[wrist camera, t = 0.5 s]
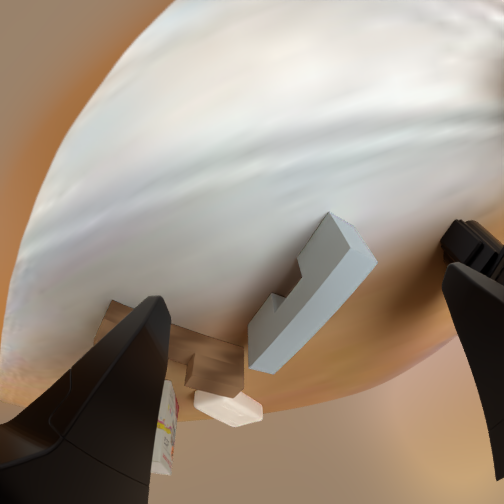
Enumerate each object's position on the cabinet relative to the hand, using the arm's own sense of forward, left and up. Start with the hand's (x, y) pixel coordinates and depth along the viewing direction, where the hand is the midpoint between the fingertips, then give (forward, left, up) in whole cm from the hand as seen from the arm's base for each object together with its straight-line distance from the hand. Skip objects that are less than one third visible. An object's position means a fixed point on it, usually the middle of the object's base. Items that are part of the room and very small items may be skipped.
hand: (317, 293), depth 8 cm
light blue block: (-6, +7, -12) cm, 16 cm away
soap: (-10, +29, -13) cm, 33 cm away
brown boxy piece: (+1, +18, -12) cm, 22 cm away
